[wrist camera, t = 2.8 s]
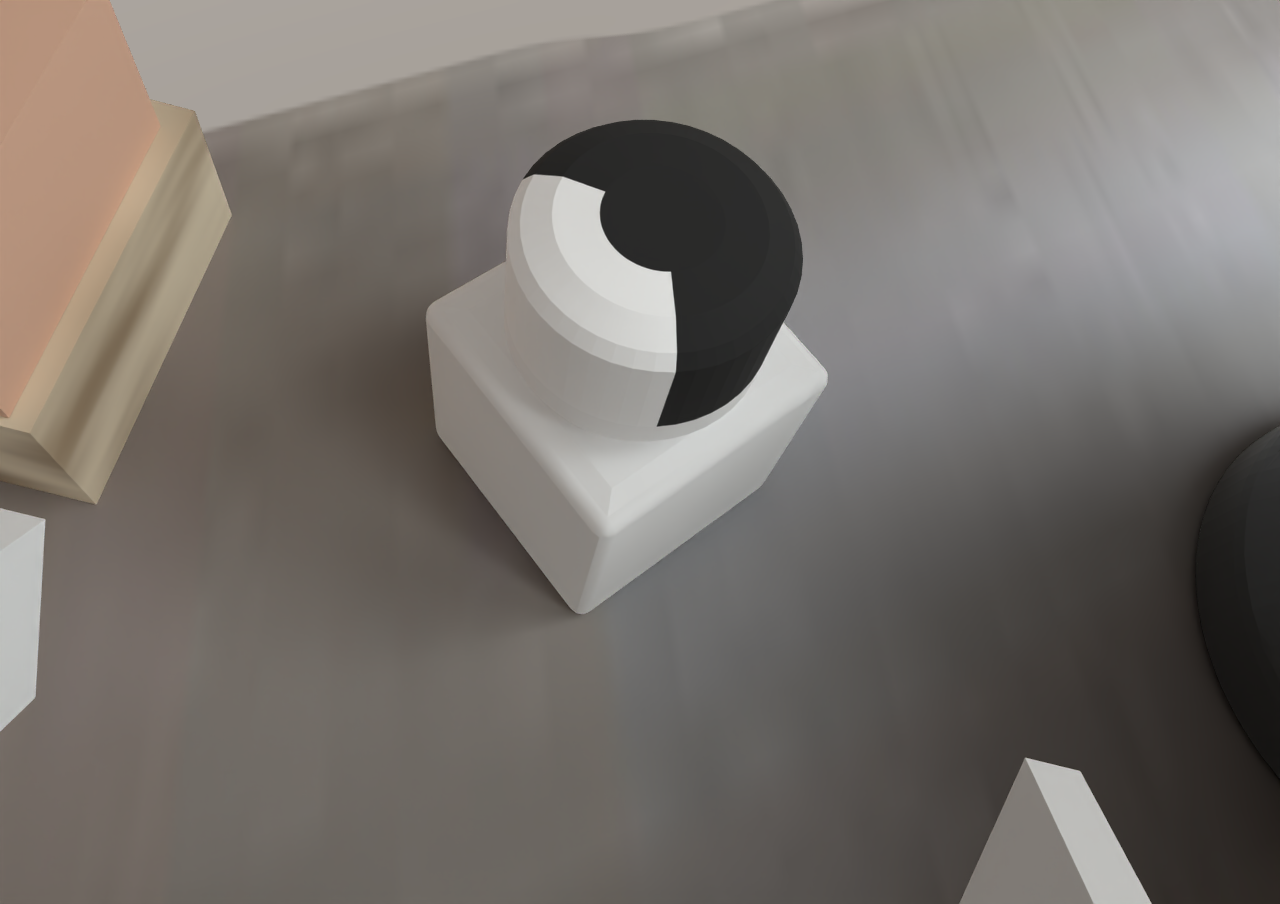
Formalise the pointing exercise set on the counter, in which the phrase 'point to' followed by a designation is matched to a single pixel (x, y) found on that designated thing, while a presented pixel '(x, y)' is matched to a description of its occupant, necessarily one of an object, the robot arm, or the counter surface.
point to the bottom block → (119, 319)
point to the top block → (59, 162)
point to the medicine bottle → (626, 351)
